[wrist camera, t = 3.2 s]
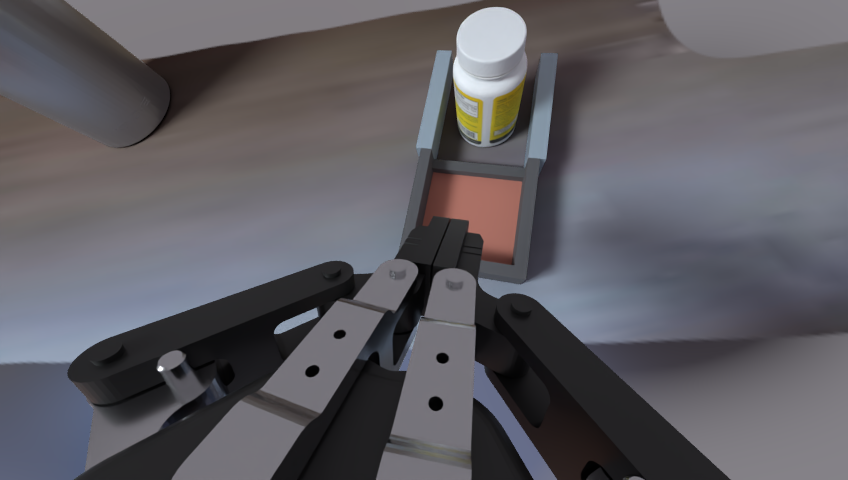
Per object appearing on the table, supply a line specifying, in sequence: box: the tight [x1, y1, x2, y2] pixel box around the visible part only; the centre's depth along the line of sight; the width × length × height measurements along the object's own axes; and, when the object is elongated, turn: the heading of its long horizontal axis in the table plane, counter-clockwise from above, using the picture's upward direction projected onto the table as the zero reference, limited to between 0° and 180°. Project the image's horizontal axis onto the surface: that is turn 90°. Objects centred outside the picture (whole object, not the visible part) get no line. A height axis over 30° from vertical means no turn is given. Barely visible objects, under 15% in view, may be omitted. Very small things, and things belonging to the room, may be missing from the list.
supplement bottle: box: [453, 7, 527, 147], centre depth 22 cm, size 5×5×8 cm
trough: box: [416, 50, 558, 176], centre depth 24 cm, size 9×9×2 cm
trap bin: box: [399, 148, 540, 284], centre depth 22 cm, size 9×9×2 cm
